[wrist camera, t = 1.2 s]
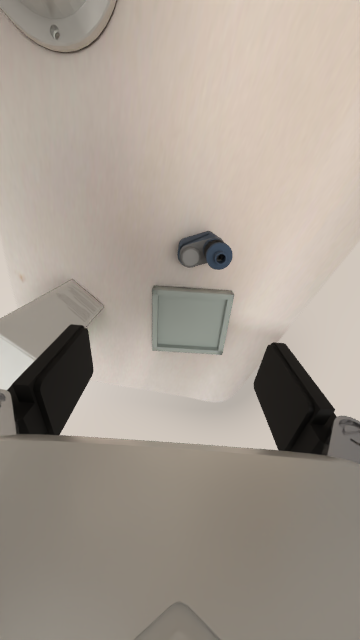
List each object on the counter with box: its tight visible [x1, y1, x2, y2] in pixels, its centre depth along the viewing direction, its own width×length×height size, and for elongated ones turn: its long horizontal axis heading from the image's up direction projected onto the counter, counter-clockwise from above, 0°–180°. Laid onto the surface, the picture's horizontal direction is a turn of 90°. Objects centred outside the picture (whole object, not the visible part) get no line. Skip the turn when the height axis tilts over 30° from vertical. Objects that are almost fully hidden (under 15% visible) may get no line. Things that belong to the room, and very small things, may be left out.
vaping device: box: [178, 231, 232, 270], centre depth 23 cm, size 3×5×12 cm, turn 105°
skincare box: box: [0, 280, 104, 390], centre depth 26 cm, size 8×7×16 cm
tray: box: [152, 286, 234, 355], centre depth 33 cm, size 11×12×2 cm
